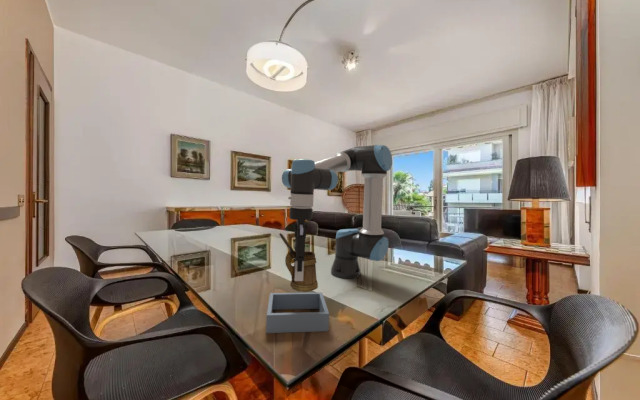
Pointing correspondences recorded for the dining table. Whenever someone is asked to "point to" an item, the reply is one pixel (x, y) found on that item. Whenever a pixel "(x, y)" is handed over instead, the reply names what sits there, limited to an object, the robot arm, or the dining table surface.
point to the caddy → (297, 320)
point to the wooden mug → (309, 270)
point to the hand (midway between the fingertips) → (298, 276)
